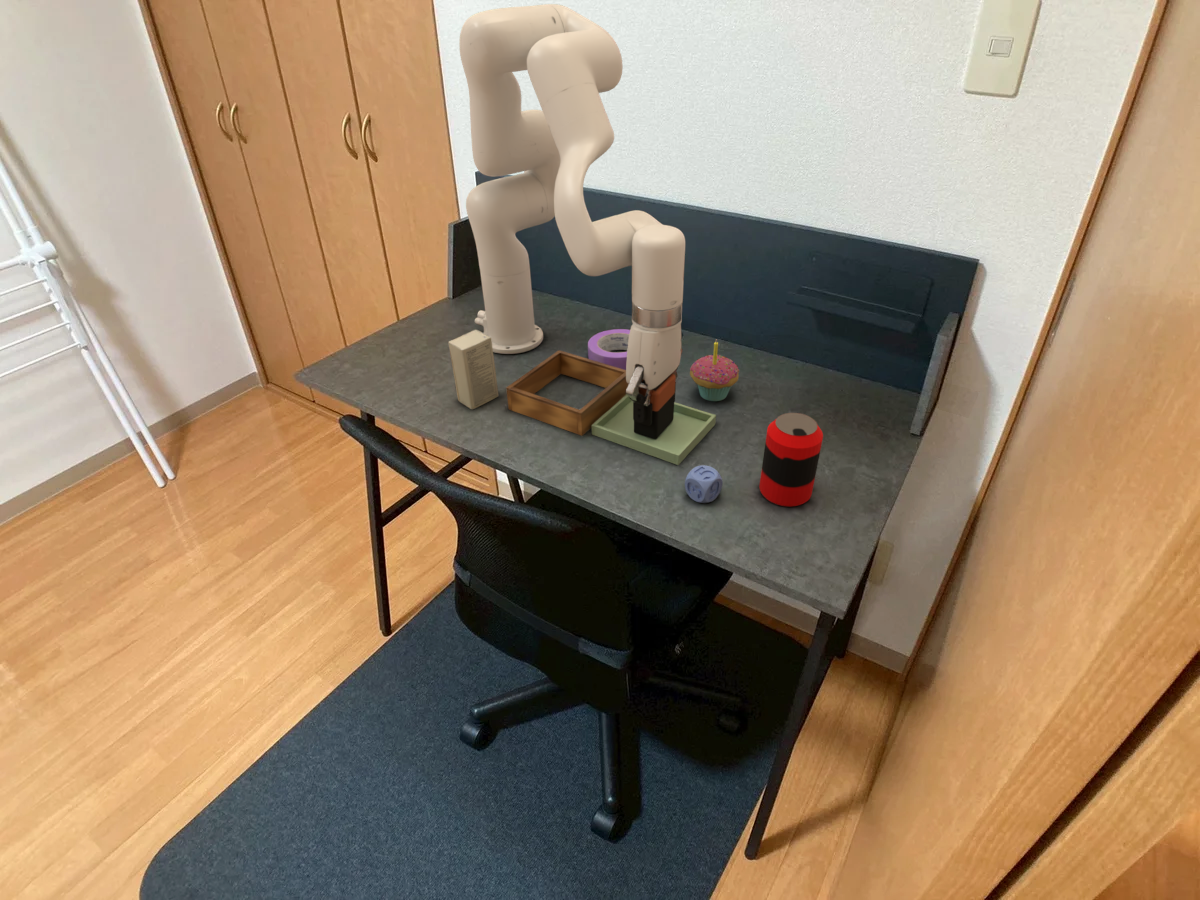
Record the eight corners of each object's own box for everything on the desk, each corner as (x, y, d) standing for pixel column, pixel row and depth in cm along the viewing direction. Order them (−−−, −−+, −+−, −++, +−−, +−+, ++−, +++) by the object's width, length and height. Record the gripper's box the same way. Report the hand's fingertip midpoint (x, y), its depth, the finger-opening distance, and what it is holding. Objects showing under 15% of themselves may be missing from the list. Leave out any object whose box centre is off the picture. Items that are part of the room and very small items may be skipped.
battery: (632, 433, 119) (633, 381, 113) (651, 413, 123) (653, 362, 117) (656, 441, 117) (658, 388, 111) (674, 420, 121) (677, 369, 115)
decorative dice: (701, 482, 109) (702, 461, 106) (722, 494, 106) (724, 473, 104) (683, 494, 106) (684, 473, 104) (704, 507, 104) (705, 485, 102)
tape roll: (576, 365, 138) (575, 347, 136) (609, 340, 146) (609, 323, 144) (628, 381, 133) (628, 363, 131) (659, 355, 141) (660, 337, 138)
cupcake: (735, 409, 124) (741, 347, 117) (686, 404, 126) (689, 343, 119) (737, 383, 131) (744, 324, 124) (691, 380, 133) (694, 320, 126)
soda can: (764, 508, 103) (774, 440, 96) (754, 475, 110) (763, 409, 102) (817, 507, 103) (831, 439, 96) (804, 474, 109) (817, 408, 102)
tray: (591, 434, 119) (591, 425, 118) (632, 398, 128) (632, 388, 127) (678, 465, 112) (678, 455, 111) (715, 424, 121) (716, 415, 120)
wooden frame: (508, 409, 126) (505, 387, 123) (560, 371, 137) (558, 349, 134) (582, 436, 119) (581, 413, 116) (630, 393, 130) (630, 371, 127)
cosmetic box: (485, 388, 132) (476, 328, 125) (500, 397, 129) (492, 336, 122) (456, 401, 129) (446, 340, 121) (471, 411, 126) (462, 349, 119)
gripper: (663, 285, 115) (660, 382, 126) (604, 328, 103) (606, 430, 114) (705, 295, 112) (698, 393, 122) (649, 341, 100) (647, 445, 111)
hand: (654, 410), depth 118 cm, fingers closed on battery, 7 cm apart
